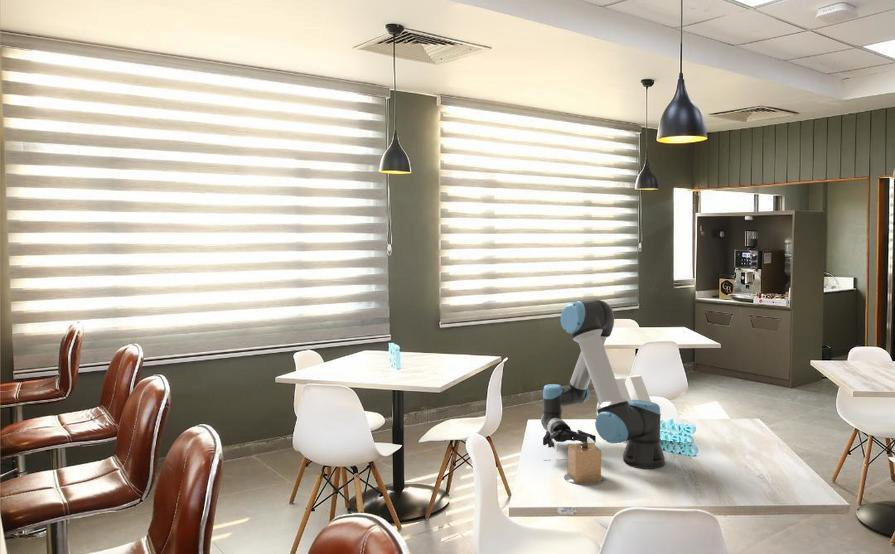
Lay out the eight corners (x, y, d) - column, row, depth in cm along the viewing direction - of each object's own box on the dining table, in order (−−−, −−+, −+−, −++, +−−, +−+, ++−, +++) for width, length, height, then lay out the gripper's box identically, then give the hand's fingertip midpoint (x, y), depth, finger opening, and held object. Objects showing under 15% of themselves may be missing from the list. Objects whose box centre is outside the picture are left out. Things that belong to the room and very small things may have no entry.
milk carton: (596, 431, 295) (596, 374, 294) (625, 426, 302) (625, 371, 300) (624, 443, 278) (625, 383, 276) (654, 438, 284) (654, 379, 282)
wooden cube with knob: (592, 472, 241) (592, 438, 240) (600, 482, 232) (601, 446, 231) (567, 474, 240) (567, 439, 239) (575, 483, 231) (575, 447, 230)
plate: (606, 476, 240) (606, 473, 240) (602, 490, 227) (602, 487, 227) (567, 472, 245) (567, 469, 245) (561, 486, 232) (561, 483, 231)
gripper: (589, 437, 268) (609, 455, 247) (528, 441, 265) (542, 458, 244) (589, 419, 267) (609, 434, 246) (528, 422, 264) (542, 438, 243)
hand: (575, 446), depth 245 cm, fingers open, 13 cm apart
